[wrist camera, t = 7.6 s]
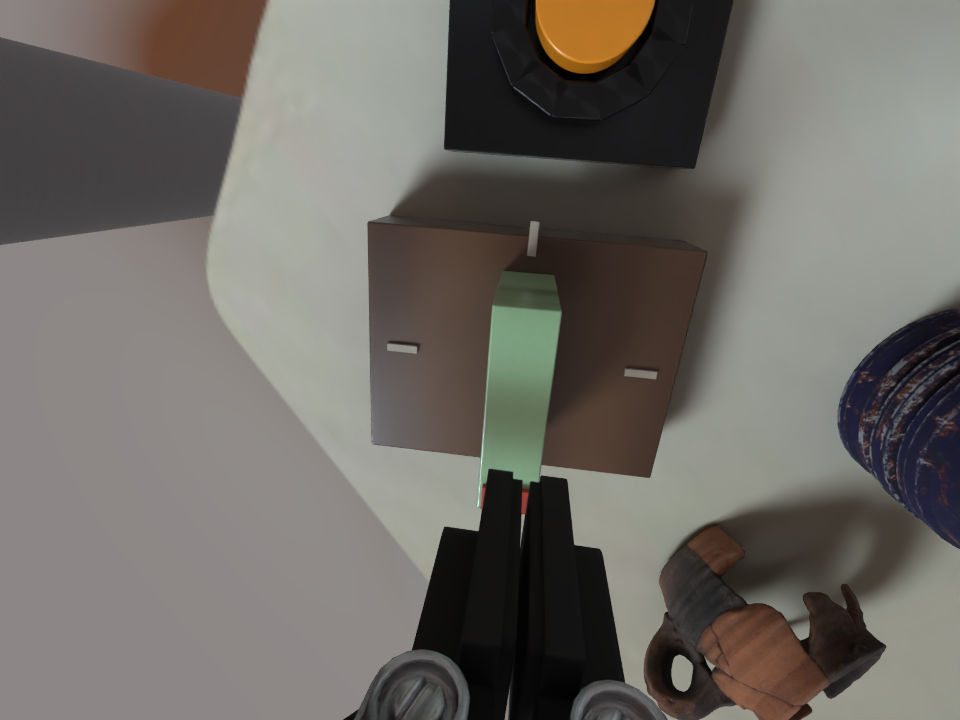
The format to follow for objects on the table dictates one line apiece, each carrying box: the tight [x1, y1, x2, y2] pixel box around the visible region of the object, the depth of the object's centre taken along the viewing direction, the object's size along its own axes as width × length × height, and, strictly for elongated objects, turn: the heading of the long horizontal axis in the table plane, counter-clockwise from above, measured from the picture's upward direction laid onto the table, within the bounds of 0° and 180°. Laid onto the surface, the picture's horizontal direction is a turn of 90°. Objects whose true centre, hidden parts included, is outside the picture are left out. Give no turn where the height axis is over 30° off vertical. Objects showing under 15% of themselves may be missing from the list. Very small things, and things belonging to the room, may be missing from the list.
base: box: [368, 216, 707, 478], centre depth 23 cm, size 14×12×3 cm
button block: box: [444, 0, 733, 169], centre depth 17 cm, size 10×9×4 cm
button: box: [535, 0, 655, 74], centre depth 15 cm, size 4×4×2 cm
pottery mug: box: [644, 525, 886, 720], centre depth 27 cm, size 12×10×8 cm
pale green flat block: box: [477, 271, 562, 514], centre depth 19 cm, size 8×2×6 cm, turn 176°
